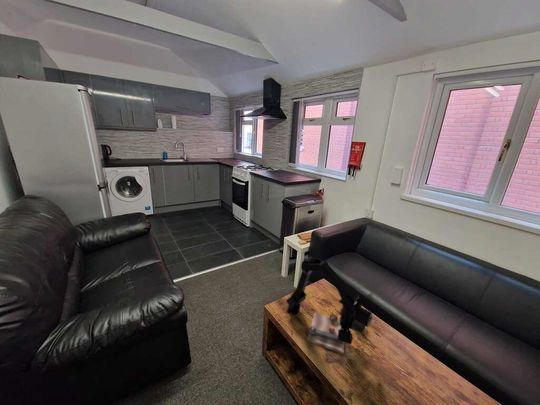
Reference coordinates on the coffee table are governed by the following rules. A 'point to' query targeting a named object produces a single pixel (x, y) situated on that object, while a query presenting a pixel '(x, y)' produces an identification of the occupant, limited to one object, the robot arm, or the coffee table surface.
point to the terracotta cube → (331, 328)
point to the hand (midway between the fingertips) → (343, 337)
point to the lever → (324, 334)
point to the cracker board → (323, 324)
